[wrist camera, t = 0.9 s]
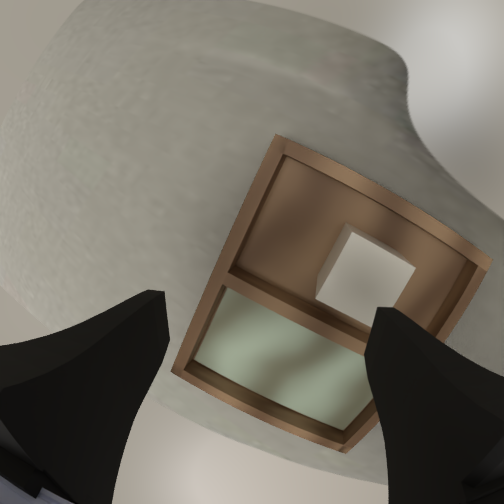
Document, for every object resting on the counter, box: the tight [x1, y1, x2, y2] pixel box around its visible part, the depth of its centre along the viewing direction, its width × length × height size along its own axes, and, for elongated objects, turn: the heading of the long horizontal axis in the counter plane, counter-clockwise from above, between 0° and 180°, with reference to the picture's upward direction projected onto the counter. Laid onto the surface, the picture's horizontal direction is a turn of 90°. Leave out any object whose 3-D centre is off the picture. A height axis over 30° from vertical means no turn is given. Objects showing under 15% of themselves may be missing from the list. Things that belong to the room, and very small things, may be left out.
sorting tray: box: [171, 134, 493, 454], centre depth 22 cm, size 18×21×3 cm
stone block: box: [315, 222, 416, 328], centre depth 19 cm, size 4×4×5 cm
